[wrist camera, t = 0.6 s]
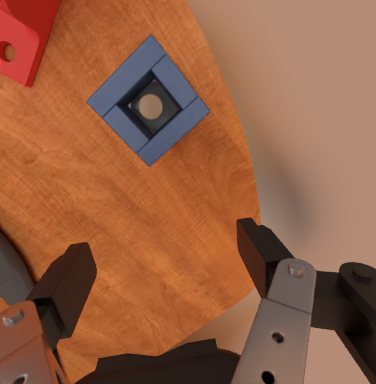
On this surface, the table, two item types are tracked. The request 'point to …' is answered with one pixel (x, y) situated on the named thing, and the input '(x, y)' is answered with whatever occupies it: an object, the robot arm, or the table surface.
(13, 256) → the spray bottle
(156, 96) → the dowel stand
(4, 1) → the bracket
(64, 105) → the table surface
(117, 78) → the holed block
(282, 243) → the robot arm
